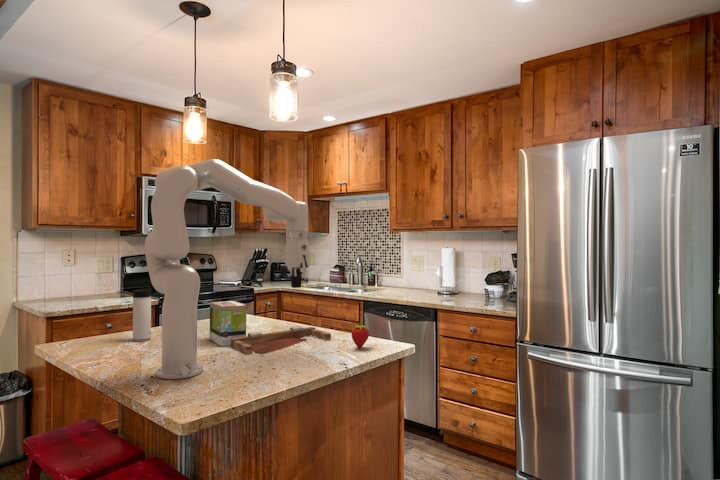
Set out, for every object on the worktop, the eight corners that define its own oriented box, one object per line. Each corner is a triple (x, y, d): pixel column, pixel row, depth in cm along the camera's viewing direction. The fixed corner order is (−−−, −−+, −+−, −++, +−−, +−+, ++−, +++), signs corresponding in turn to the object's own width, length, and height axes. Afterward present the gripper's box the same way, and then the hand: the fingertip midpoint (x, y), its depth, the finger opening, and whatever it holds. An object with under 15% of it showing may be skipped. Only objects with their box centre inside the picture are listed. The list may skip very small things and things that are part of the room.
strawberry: (372, 347, 160) (372, 320, 160) (361, 352, 154) (361, 323, 154) (359, 345, 163) (359, 318, 163) (347, 349, 157) (347, 321, 157)
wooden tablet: (262, 356, 149) (262, 351, 149) (242, 352, 155) (242, 347, 155) (312, 341, 172) (312, 337, 172) (293, 338, 177) (293, 333, 177)
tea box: (247, 343, 165) (247, 304, 165) (220, 347, 159) (220, 306, 159) (234, 336, 177) (234, 299, 177) (208, 339, 172) (209, 301, 172)
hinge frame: (330, 340, 172) (330, 329, 172) (246, 354, 149) (247, 342, 149) (311, 334, 182) (311, 324, 182) (230, 346, 160) (230, 335, 160)
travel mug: (155, 339, 171) (155, 287, 171) (138, 342, 165) (139, 289, 165) (145, 337, 174) (146, 286, 174) (129, 340, 168) (129, 288, 168)
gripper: (317, 236, 154) (316, 288, 154) (295, 236, 166) (294, 285, 166) (298, 236, 149) (298, 289, 149) (277, 236, 161) (276, 286, 161)
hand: (296, 287), depth 158 cm, fingers closed
